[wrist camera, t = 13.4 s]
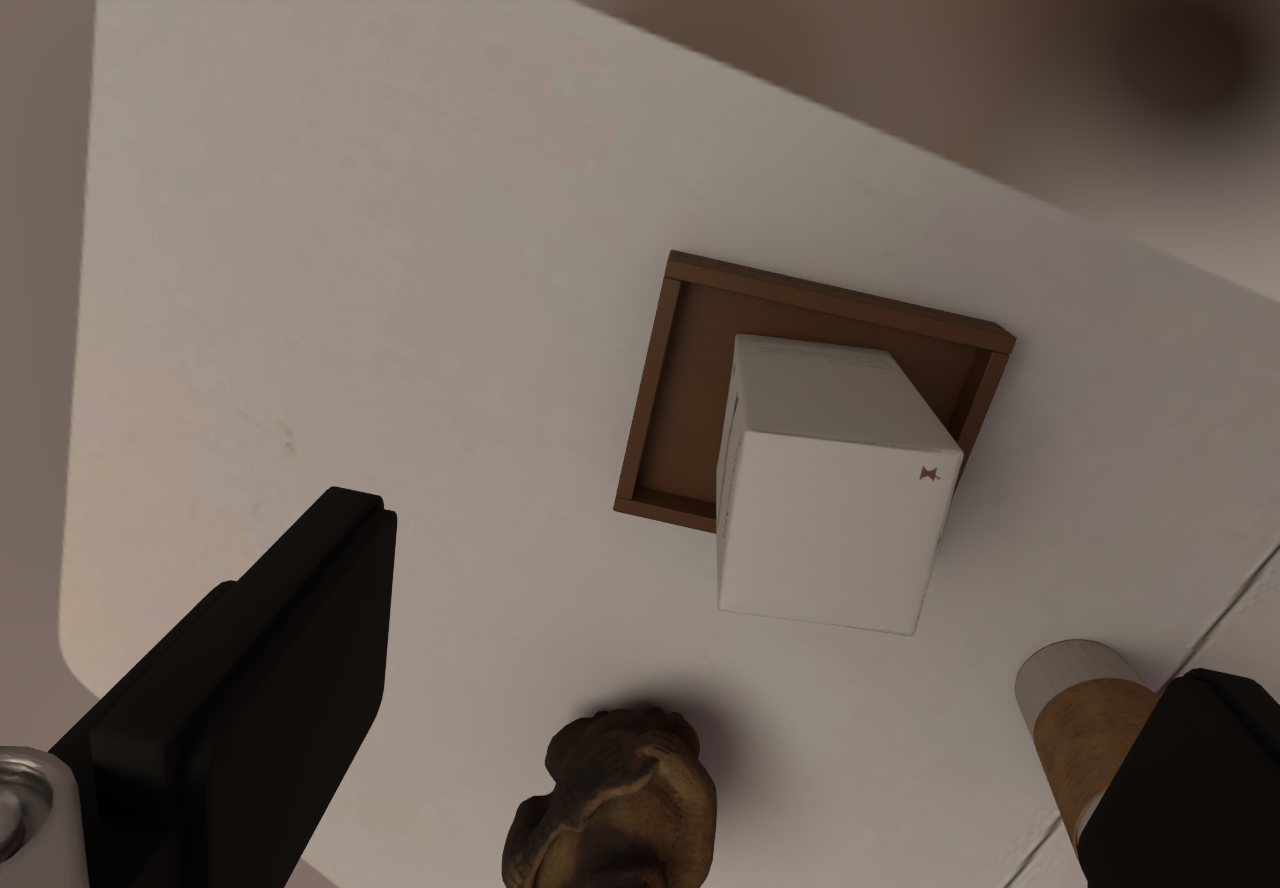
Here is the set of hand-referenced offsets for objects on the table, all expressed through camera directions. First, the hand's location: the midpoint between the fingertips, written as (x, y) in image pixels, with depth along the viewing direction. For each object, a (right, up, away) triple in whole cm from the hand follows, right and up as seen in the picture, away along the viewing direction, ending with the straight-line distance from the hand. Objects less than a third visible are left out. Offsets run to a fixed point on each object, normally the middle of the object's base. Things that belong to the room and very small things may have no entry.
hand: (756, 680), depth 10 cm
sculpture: (-2, -14, +39) cm, 41 cm away
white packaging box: (+6, +4, +29) cm, 30 cm away
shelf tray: (+6, +5, +30) cm, 31 cm away
